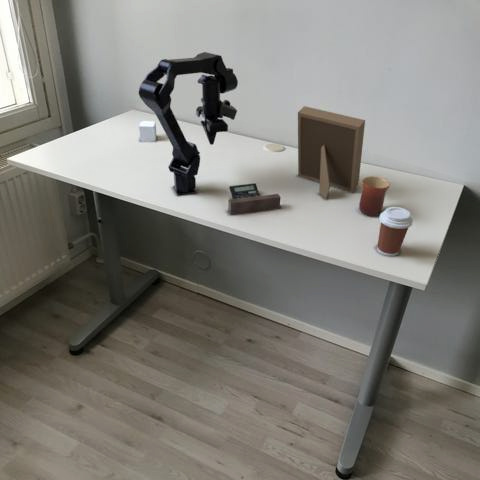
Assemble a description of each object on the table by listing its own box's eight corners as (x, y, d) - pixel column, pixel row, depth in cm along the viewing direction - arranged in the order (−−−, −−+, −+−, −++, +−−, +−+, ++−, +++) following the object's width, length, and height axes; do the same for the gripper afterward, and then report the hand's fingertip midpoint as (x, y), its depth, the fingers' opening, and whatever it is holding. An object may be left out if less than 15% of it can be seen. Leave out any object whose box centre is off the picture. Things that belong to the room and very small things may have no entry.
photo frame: (303, 172, 182) (312, 102, 166) (357, 188, 173) (372, 115, 157) (283, 186, 173) (290, 113, 157) (339, 203, 164) (353, 128, 148)
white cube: (156, 136, 206) (155, 121, 202) (155, 141, 202) (154, 126, 198) (142, 135, 206) (140, 121, 202) (140, 141, 201) (139, 126, 197)
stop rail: (230, 214, 156) (230, 203, 153) (228, 211, 157) (228, 199, 155) (279, 208, 160) (280, 196, 157) (277, 204, 162) (278, 193, 159)
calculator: (240, 209, 159) (240, 201, 157) (229, 194, 167) (229, 185, 165) (266, 206, 161) (267, 197, 159) (255, 190, 169) (255, 182, 167)
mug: (375, 221, 155) (382, 190, 149) (351, 212, 159) (356, 182, 153) (392, 208, 163) (399, 178, 156) (368, 199, 167) (374, 170, 160)
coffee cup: (405, 260, 138) (416, 222, 131) (372, 256, 140) (381, 218, 132) (402, 243, 145) (413, 206, 138) (371, 239, 146) (380, 203, 139)
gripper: (243, 103, 154) (242, 152, 164) (226, 87, 168) (226, 133, 178) (209, 106, 151) (210, 155, 161) (195, 89, 165) (196, 135, 175)
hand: (211, 144), depth 169 cm, fingers closed
